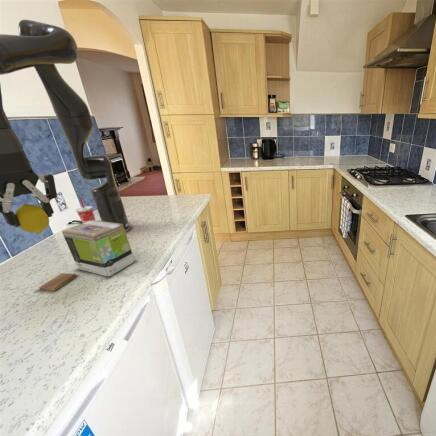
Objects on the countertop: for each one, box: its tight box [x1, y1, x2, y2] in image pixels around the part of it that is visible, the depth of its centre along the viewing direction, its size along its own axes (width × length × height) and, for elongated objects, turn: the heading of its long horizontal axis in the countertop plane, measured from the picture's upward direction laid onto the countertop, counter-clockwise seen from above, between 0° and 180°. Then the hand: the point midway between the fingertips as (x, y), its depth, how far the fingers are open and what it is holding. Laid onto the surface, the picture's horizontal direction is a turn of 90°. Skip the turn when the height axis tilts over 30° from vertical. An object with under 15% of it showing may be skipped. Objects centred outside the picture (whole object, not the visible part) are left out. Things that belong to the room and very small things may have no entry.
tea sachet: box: [38, 273, 77, 292], centre depth 75 cm, size 5×7×1 cm
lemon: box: [14, 203, 50, 235], centre depth 60 cm, size 6×6×8 cm
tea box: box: [61, 219, 135, 278], centre depth 81 cm, size 15×10×15 cm, turn 71°
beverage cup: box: [75, 197, 96, 224], centre depth 112 cm, size 6×6×14 cm
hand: (33, 220), depth 60 cm, fingers closed on lemon, 5 cm apart
